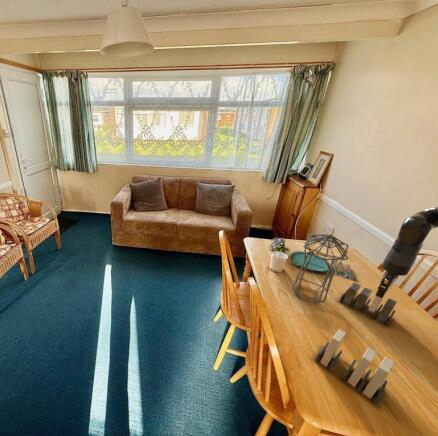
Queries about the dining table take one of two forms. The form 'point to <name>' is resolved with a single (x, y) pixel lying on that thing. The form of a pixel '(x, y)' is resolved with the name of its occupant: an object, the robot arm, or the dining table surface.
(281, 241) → the purple flower bunch
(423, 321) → the dining table surface
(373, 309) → the white book
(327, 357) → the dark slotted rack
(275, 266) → the white cup
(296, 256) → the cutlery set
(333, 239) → the geometric lantern
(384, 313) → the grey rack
